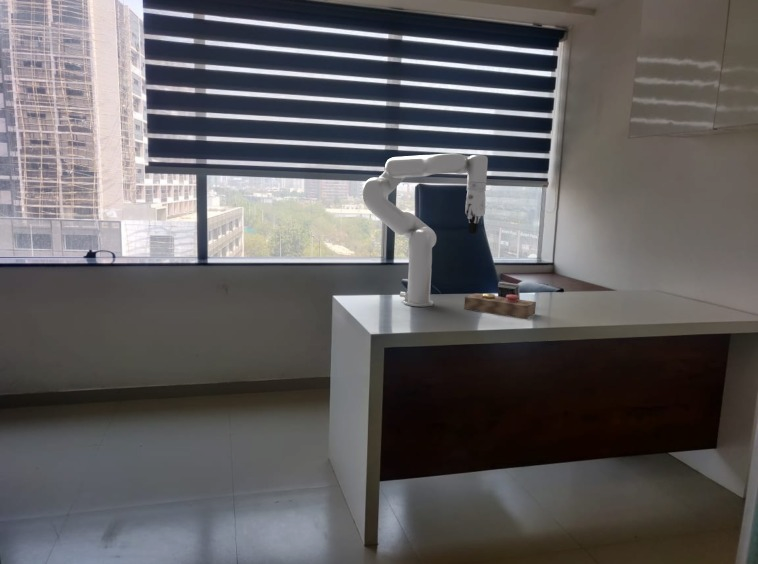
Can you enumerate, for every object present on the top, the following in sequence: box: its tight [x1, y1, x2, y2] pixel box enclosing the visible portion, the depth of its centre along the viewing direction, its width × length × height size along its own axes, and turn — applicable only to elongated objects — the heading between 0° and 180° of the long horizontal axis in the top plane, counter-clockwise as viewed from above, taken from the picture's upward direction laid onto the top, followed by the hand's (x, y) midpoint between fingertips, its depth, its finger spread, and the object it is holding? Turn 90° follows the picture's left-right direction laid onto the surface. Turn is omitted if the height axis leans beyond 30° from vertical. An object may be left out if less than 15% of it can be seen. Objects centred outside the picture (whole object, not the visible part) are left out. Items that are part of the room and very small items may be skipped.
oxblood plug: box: [506, 295, 519, 303], centre depth 222 cm, size 5×5×6 cm
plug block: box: [463, 292, 537, 320], centre depth 225 cm, size 26×11×5 cm, turn 58°
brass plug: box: [481, 292, 496, 299], centre depth 228 cm, size 5×5×6 cm
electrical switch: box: [497, 281, 521, 300], centre depth 242 cm, size 9×5×9 cm, turn 57°
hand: (473, 233), depth 223 cm, fingers closed
